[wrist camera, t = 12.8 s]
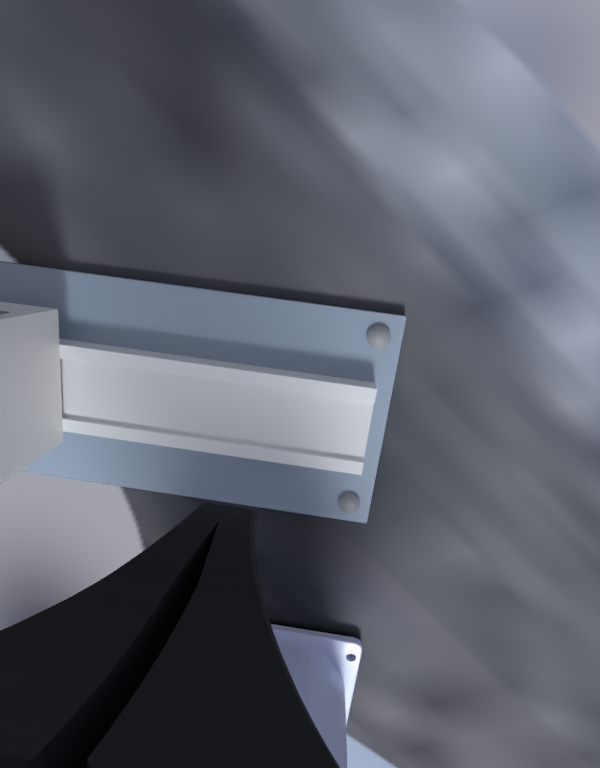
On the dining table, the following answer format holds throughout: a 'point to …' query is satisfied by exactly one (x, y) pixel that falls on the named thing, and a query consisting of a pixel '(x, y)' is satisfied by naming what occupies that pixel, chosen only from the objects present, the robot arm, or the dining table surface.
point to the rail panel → (216, 391)
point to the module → (28, 385)
